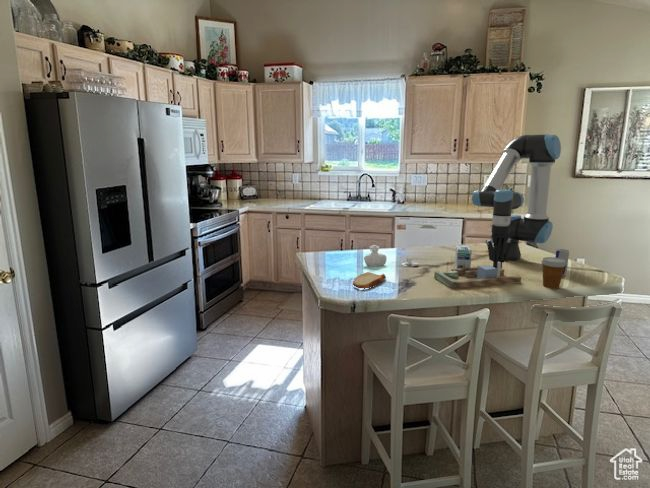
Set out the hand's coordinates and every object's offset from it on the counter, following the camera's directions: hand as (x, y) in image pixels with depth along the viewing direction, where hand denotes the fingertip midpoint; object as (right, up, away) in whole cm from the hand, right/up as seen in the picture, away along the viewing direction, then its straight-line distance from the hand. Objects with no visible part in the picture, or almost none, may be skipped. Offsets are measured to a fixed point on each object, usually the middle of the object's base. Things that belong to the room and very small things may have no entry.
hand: (496, 275), depth 199 cm
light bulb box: (-10, +2, +18) cm, 21 cm away
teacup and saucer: (-36, +3, +23) cm, 43 cm away
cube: (-5, -2, -1) cm, 5 cm away
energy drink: (+32, 0, +6) cm, 33 cm away
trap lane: (-10, -2, +1) cm, 10 cm away
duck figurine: (-53, +3, +25) cm, 59 cm away
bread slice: (-58, -4, -4) cm, 58 cm away
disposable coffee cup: (+20, -4, -10) cm, 22 cm away
